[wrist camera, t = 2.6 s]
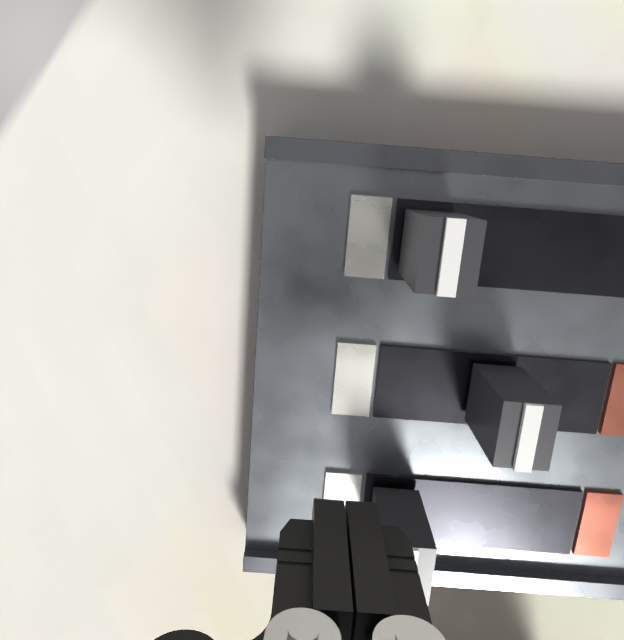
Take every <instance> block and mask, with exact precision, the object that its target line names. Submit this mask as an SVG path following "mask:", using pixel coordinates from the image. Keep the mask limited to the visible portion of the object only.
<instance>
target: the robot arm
mask: <svg viewBox="0 0 624 640" xmlns="http://www.w3.org/2000/svg"><path fill="white" fill-rule="evenodd" d="M155 640H213V639H212V638H211V637H209V636H208V635H206V634H204V633H202V632H199V631H195V630H177V631H172V632H169V633H166V634H164V635H161V636H160V637H158V638H156V639H155ZM253 640H446V639H445V638H444V636H443V635H442V633H441V632H440V631H439V630H438V629H437V628H435V627H434V626H433V625H432V622H431V618H430V614H429V610H428V606H427V603H426V599H425V595H424V591H423V587H422V583H421V579H420V575H419V574H418V567H417V564H416V561H415V556H414V552H413V548H412V544H411V541H410V540H409V538H408V537H407V536H406V535H405V534H404V532H403V531H402V530H401V529H400V528H399V527H398V526H388V525H381V523H380V517H379V512H378V507H377V503H374V502H361V501H347V500H346V502H345V505H344V500H332V499H318V498H314V500H313V509H312V520H304V519H291V518H290V520H289V521H288V522H287V523H286V525H285V526H284V527H283V528H282V530H281V531H280V537H279V546H278V556H277V566H276V575H275V585H274V594H273V604H272V614H271V618H270V621H269V623H268V625H267V627H266V628H265V629H264V631H263V632H262V633H261V634H260V635H258V636H257V637H256V638H254V639H253Z"/></svg>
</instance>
